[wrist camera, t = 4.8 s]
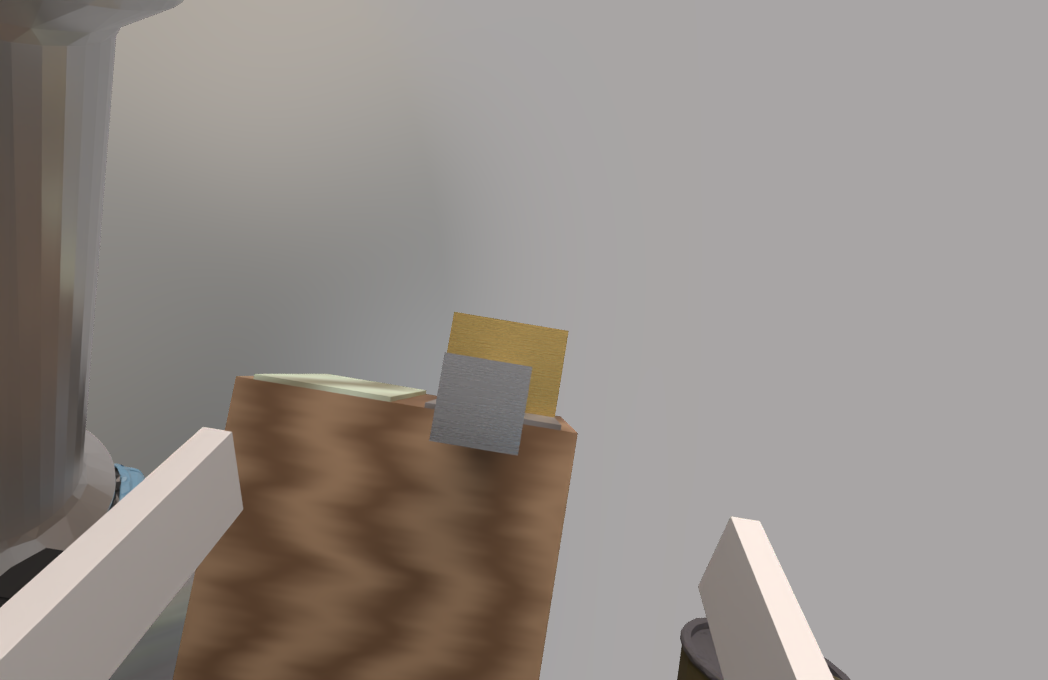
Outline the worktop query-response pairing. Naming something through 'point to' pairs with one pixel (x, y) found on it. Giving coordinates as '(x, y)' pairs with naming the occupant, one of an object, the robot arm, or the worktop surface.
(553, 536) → the wood grain box
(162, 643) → the worktop surface
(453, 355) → the handle bar
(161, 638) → the worktop surface
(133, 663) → the worktop surface
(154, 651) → the worktop surface
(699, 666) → the canister
